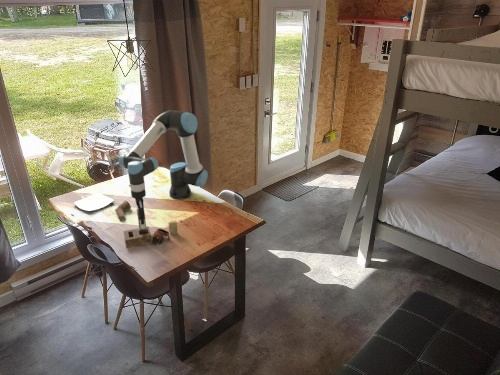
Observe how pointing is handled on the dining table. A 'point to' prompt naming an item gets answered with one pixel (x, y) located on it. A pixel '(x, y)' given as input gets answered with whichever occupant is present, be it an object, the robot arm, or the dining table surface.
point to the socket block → (137, 237)
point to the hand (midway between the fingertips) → (142, 226)
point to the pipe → (122, 209)
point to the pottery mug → (159, 236)
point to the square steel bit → (139, 220)
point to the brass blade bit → (173, 227)
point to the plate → (94, 202)
